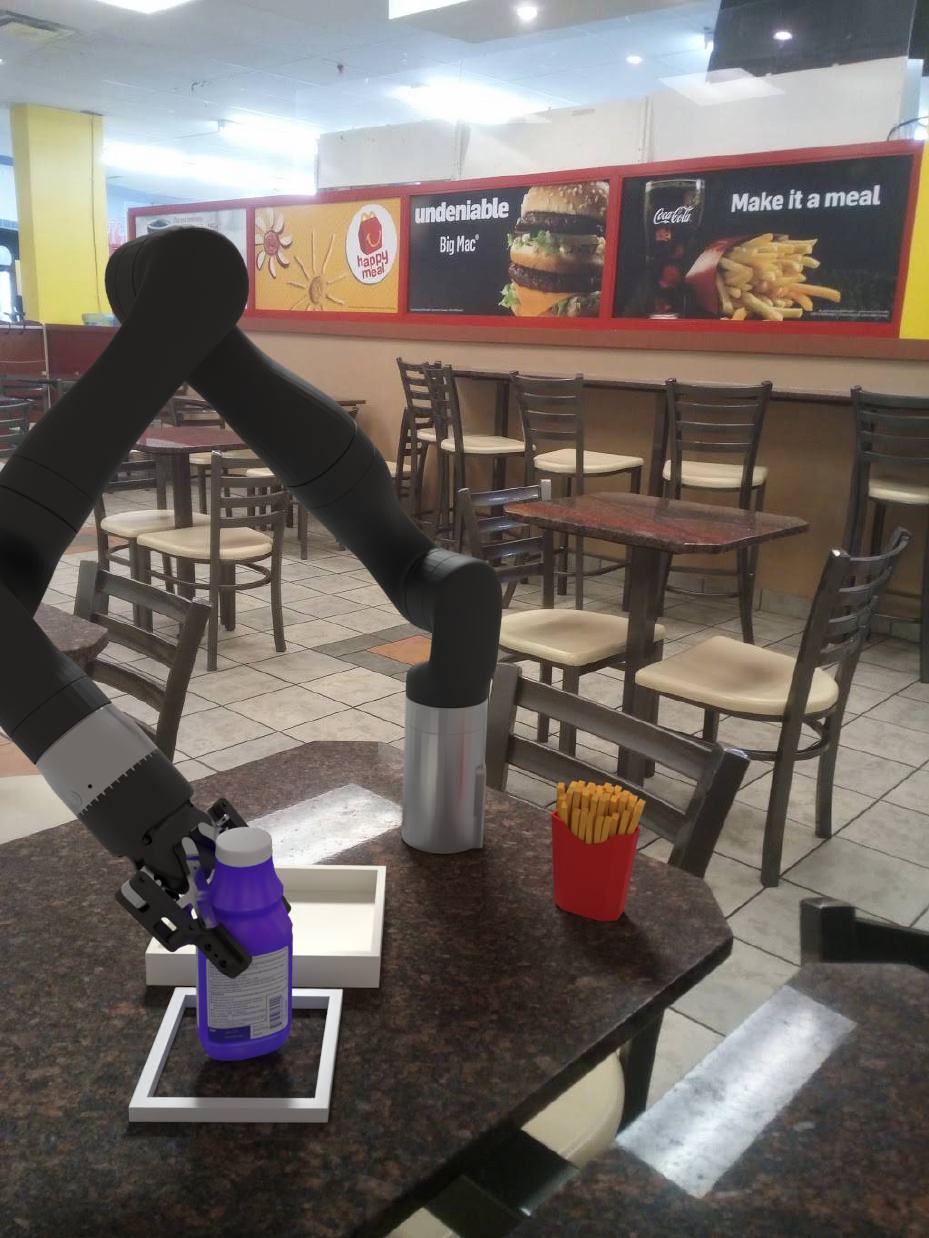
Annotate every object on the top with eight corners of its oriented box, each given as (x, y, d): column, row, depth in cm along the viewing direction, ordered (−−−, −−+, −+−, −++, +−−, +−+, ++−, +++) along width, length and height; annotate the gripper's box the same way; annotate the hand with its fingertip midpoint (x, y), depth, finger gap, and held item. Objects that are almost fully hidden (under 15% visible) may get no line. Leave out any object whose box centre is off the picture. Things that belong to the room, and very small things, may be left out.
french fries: (541, 903, 102) (549, 786, 99) (557, 885, 106) (565, 771, 102) (627, 929, 98) (638, 807, 95) (640, 909, 102) (652, 791, 98)
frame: (342, 1001, 85) (342, 989, 85) (327, 1122, 72) (327, 1108, 71) (176, 999, 84) (175, 987, 84) (129, 1121, 71) (128, 1107, 71)
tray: (385, 893, 103) (386, 866, 102) (378, 987, 87) (379, 956, 86) (188, 890, 102) (187, 862, 101) (146, 984, 86) (145, 953, 85)
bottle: (285, 1009, 82) (283, 815, 77) (299, 1054, 77) (299, 848, 72) (193, 1027, 79) (186, 827, 75) (202, 1074, 74) (195, 863, 70)
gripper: (90, 789, 67) (256, 973, 67) (193, 717, 80) (330, 871, 81) (25, 850, 69) (187, 1027, 70) (136, 770, 83) (270, 919, 83)
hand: (263, 942), depth 75 cm, fingers closed on bottle, 6 cm apart
